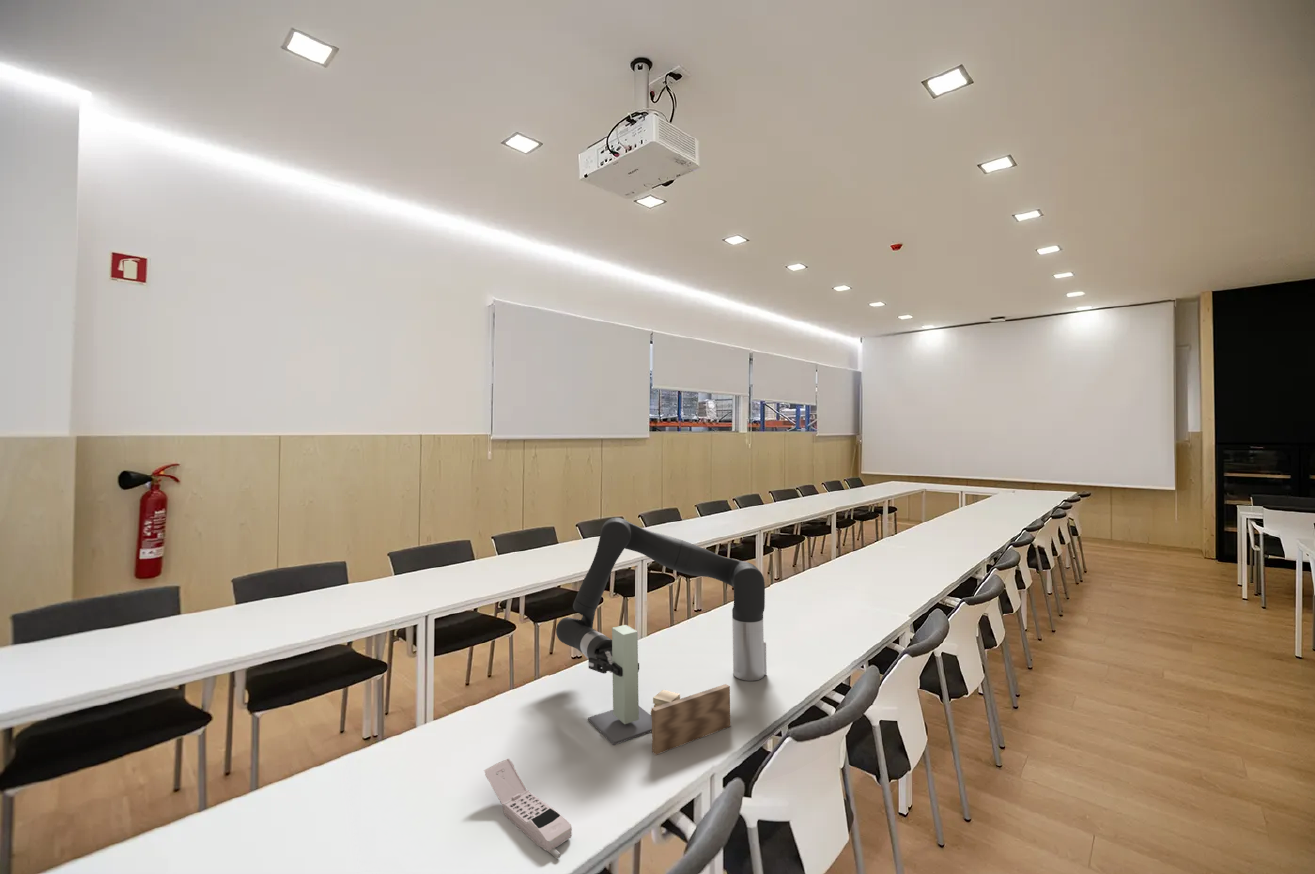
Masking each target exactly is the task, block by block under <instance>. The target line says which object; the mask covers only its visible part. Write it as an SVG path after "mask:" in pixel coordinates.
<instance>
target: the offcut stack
mask: <svg viewBox="0 0 1315 874" xmlns="http://www.w3.org/2000/svg"><path fill="white" fill-rule="evenodd" d="M678 699H681V693H677V692H673V691H670V690H666V689H662V690H661V691H659V692H658V693H657V694H656V695H655V696H653V697H652V704H653V708H654V707H657V706H660V705H663V704H666V703H669V702H672V701H675V700H678ZM650 715H651V716H652V709H651V710H650Z"/></svg>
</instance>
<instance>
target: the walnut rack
mask: <svg viewBox="0 0 1315 874" xmlns="http://www.w3.org/2000/svg"><path fill="white" fill-rule="evenodd" d="M730 694H731V686H730V685H728V684H727V683H725V684H721V685H719V686H716V687H712V688H710V689H709V688H708V689H706V690H703V691H700V692H697V693H694V694H692V695H688V696H685V697H682V698H681V697H680V699H678V700H675V701H672V702H669V703H666V704H663V705H660V706H657V707H654V706H653V707H651V710H652V732H651V750H652V751H651V752H652V753H653V754H654V755H655V756H657V755H659V754H662V753H664V752H667V751H670V750H672V749H675V748H678V747H680V746H683V745H685V744H688V743H690V742H693V741H696V740H698V739H701V738H705V737H707V736H709V735H712V734H714V733H717V732H720V731H723V730H725V729H728V728H730V727H731V695H730Z"/></svg>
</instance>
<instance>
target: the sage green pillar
mask: <svg viewBox="0 0 1315 874" xmlns="http://www.w3.org/2000/svg"><path fill="white" fill-rule="evenodd" d="M638 636H639V635H638V631H637V630H636V629H634V628H633V627H631V626H629V625H627V624H623V625H619V626H614V627H611V640H612V660H613V661H614V663H616V664H618V665H619V666H621V667H622V669H623V676H621V677H619V676H618V675H615V674H614V673H612V710H613V715H615V716H616V717H617V718H618V719H619V720H620V721H621V722H623V723H624V724H627V723H630V722H633V721H636V720H639V706H640V705H639V672H638V663H639V647H638V646H639V645H638V644H639V643H638V640H639V639H638Z"/></svg>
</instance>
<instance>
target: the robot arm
mask: <svg viewBox="0 0 1315 874" xmlns="http://www.w3.org/2000/svg"><path fill="white" fill-rule="evenodd" d="M624 550H629V551H632V552H633V551H634V552H635V553H640V554H641V555H644V556H645V557H648V558H649V559H651V560H652V561H653V562H655V563H658V564H659V565H660V566H664V567H665V568H667V569H670V570H673V571H676V572H678V573H682V574H685V575H687V576H688V575H689V576H694V577H705V578H711V579H714V580H718V581H720V582H721V583H722V582H723V583H724V584H726V585H728V586H731V588H732V587H733V607H732V610H731V612H732V613H731V614H732V615H731V616H732V619H731V620H732V669H733V670H732V672H733V673H732V674H733V676H734V677H735V678H737V679H738V680H743V681H746V682H747V681H749V682H750V681H751V682H752V681H753V682H754V681H758V680H759V681H760V680H762V679H763V678H764V677H765V675H767V642H766V641H764V639H765V638H764V612H765V607H766V605H765V603H766V601H765V600H766V599H765V598H766V586H765V585H766V584H765V583H766V582H765V577H764V575H763V573H762V572H761V571H760V570H759V568H757V566H756V565H754V564H753V563H750V562H748V561H743V560H740V559H735V558H731V557H725V556H723V555H721V554H720V555H719V554H717V553H715V552H713V551H710V550H708V549H706V548H704V547H701V546H699V545H696V544H695V543H691V542H688V541H685V540H682V539H679V538H676V537H672V536H669V535H665V534H662V533H658V532H654V531H650V530H648V529H645V528H643V527H640V526H639V525H637V524H634V523H632V522H629V521H628V520H626V519H624V518H621V517H611V518H609V519H607V520H606V521H605V522H604V523H603V524H602V526H601V529H600V533H599V540H598V545H597V549H596V553H595V555H594V557H593V561H592V563H591V565H590V567H589V569H588V571H587V573H586V575H585V577H584V579H583V581H582V582H581V584H580V587H579V589H578V591H577V594H576V595H575V599H574V601H573V603H572V608H573V611H575V612H576V613H578V614H579V615H581V616H582V617H581V619H579V618H578V619H577V618H573V617H568V616H567V617H564V618H562V619H560V620H559V621H558V622H557V625H556V627H555V628H556V629H555V634H556V637H557V639H558V640H559V641H560V642H561V644H562V643H563V644H565V645H566V646H569V647H572V648H575V649H576V650H578V651H579V652H580V653H581V654H583V655H584V657H585V658H586V659H587V660H588V669H590V670H592V671H594V672H597V673H600V674H605V675H606V674H607V672H609V673H611V674H613V673H614V674H615V675H618V676H619V677H621V676H623V669H622V667H621V666H619V665H618V664H616V663H614V661H613V660H612V638H610V637H608V636H607V635H605V634H603V633H602V632H599V631H598V630H596V629H595V628H594V620H595V615H596V611H597V609H598V606H599V604H600V602H601V599H602V597H603V594H604V592H605V589H606V586H607V583H608V581H609V579H610V576H611V573H612V571H613V568H614V567H615V565H616V563H617V561H618V560H619V557H620V556H621V555H622V553H623V552H624ZM639 672H640V663H639V662H638V673H639Z"/></svg>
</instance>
